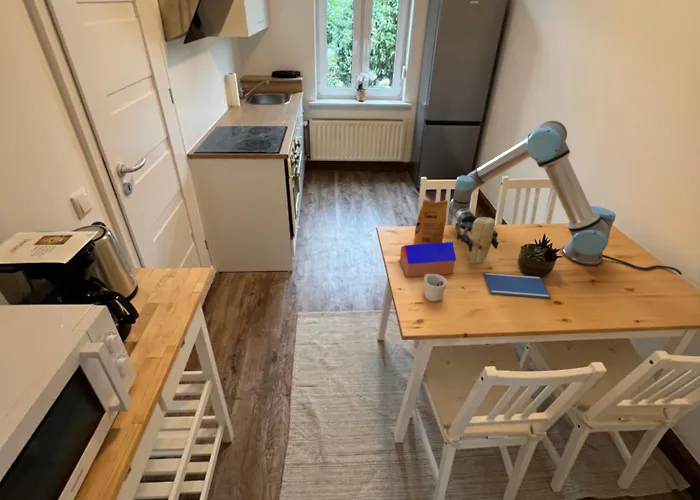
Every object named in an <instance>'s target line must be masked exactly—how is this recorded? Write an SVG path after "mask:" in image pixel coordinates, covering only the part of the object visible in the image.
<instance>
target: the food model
mask: <svg viewBox="0 0 700 500" xmlns="http://www.w3.org/2000/svg"><path fill="white" fill-rule="evenodd" d="M495 225H496V221H495V219H494V218H492V217H486V216H482V217H478V218H476V220H475V221H474V223H473V226H472V230H471V232H469V238H470V239H471V241H472V243H473V246H472V249H470V248H469V247H468V246H467V250H466V259H467V261H468V262H471V263H476V264H482V263H484V262H485V260H486V258H487V256H488V254H489V250H490V247H491V245H492V243H491V241H492V237H493V231H494V230H495Z"/></svg>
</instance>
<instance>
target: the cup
mask: <svg viewBox="0 0 700 500" xmlns="http://www.w3.org/2000/svg"><path fill="white" fill-rule="evenodd" d="M423 277H424V278H423V281H424V291H423V292H424V297H425V298H426V299H427V300H428V301H431V302H439V301H441V300H442V298H443V296H444V293H445V291H446V287H447V285H448V281H447V279H446V278H445V277H444V276H443V275H442V274H430V275H429V274H426V275H424V276H423Z"/></svg>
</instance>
